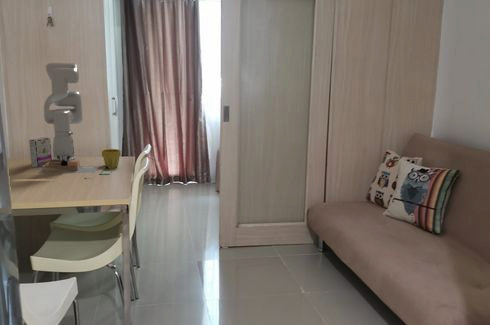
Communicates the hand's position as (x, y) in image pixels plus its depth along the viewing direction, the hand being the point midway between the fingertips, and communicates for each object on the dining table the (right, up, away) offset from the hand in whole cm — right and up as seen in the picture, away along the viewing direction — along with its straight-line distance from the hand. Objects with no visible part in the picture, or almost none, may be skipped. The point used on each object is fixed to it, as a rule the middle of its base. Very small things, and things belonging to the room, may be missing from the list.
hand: (64, 167), depth 238 cm
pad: (+22, -3, -1) cm, 22 cm away
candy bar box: (-18, 0, +12) cm, 22 cm away
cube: (+5, -1, +1) cm, 5 cm away
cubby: (-2, -1, 0) cm, 2 cm away
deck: (+2, -2, +2) cm, 4 cm away
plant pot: (+21, 0, +16) cm, 26 cm away
